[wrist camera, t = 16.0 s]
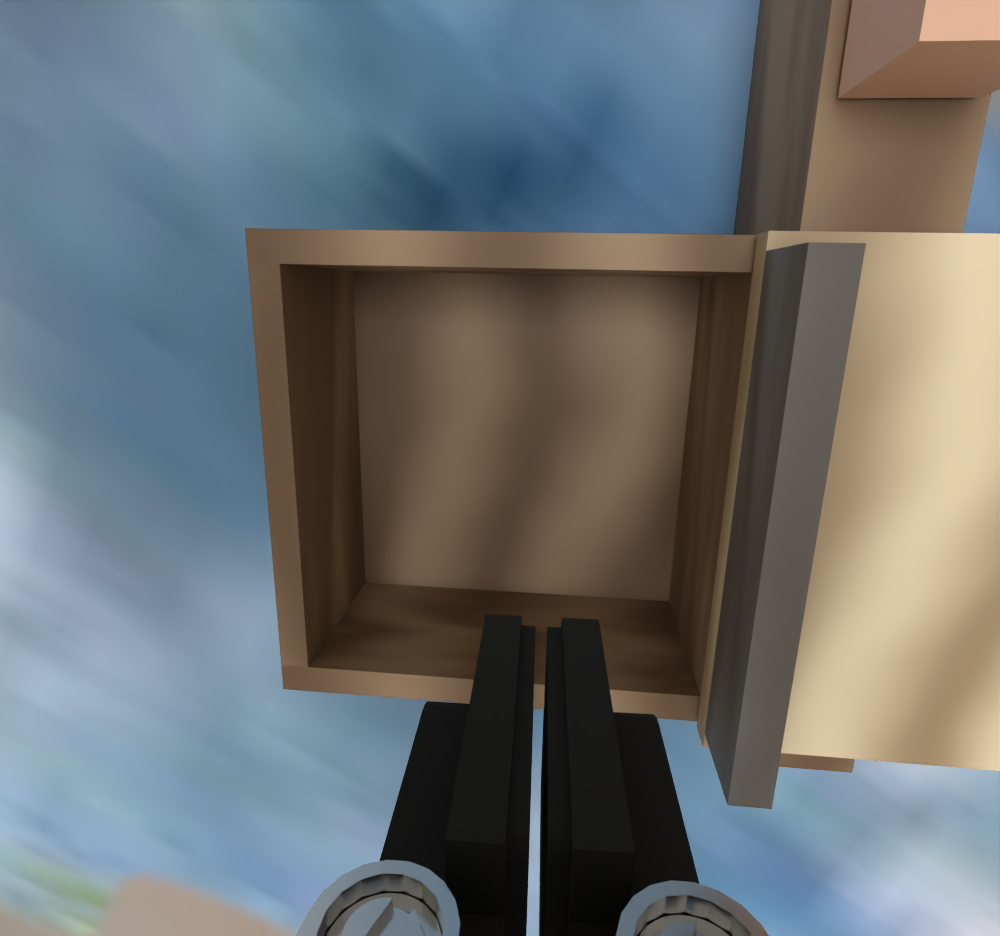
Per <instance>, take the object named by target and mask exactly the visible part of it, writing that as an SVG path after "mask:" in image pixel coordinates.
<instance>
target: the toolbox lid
mask: <svg viewBox="0 0 1000 936" xmlns="http://www.w3.org/2000/svg"><path fill="white" fill-rule="evenodd" d="M697 729H698V732H699V735H700V738H701V742H702V745H703V747H709V749H710V752H711V755H712V758H713V761H714V764H715V767H716V770H717V773H718V777H719V780H720V783H721V786H722V789H723V792H724V795H725V798H726V801H727V805H732V806H744V807H755V808H766V809H772V803H773V797H774V791H775V785H776V779H777V773H778V767H779V761H780V755H781V753H787V754H799V755H812V756H824V757H836V758H849V759H861V760H873V761H886V762H898V763H910V764H923V765H935V766H947V767H959V768H972V769H984V770H996V771H1000V234H988V233H908V232H829V231H766V232H763V233H759V234H757V241H756V249H755V258H754V266H753V274H752V282H751V290H750V298H749V306H748V315H747V323H746V331H745V339H744V347H743V355H742V363H741V372H740V380H739V388H738V396H737V404H736V412H735V420H734V429H733V437H732V445H731V453H730V461H729V469H728V477H727V486H726V494H725V502H724V510H723V518H722V526H721V534H720V543H719V551H718V559H717V567H716V575H715V583H714V591H713V600H712V608H711V616H710V624H709V632H708V640H707V648H706V657H705V665H704V673H703V681H702V689H701V697H700V705H699V714H698V722H697Z"/></svg>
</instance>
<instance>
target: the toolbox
mask: <svg viewBox="0 0 1000 936" xmlns="http://www.w3.org/2000/svg"><path fill="white" fill-rule="evenodd" d="M851 6H852V0H760V9H759V18H758V27H757V35H756V44H755V53H754V62H753V71H752V80H751V88H750V97H749V106H748V115H747V124H746V132H745V141H744V150H743V159H742V168H741V177H740V185H739V194H738V203H737V212H736V221H735V229H734V235H711V234H635V233H559V232H483V231H407V230H331V229H255V228H245V232H246V244H247V256H248V268H249V280H250V292H251V304H252V316H253V328H254V340H255V352H256V364H257V377H258V389H259V401H260V413H261V425H262V437H263V449H264V461H265V473H266V485H267V497H268V509H269V521H270V533H271V545H272V557H273V569H274V581H275V593H276V605H277V617H278V629H279V641H280V653H281V665H282V677H283V689H291V690H304V691H317V692H329V693H342V694H355V695H368V696H381V697H394V698H406V699H419V700H432V701H445V702H458V703H470V698H471V693H472V687H473V681H474V676H475V670H476V665H477V659H478V654H479V648H480V642H481V637H482V631H483V626H484V620H485V615H486V614H498V615H519V616H522V625H523V626H536V631H535V665H534V699H533V708H535V709H544V694H545V668H546V643H547V627H561V620H562V618H582V619H598V620H599V624H600V630H601V637H602V643H603V650H604V656H605V662H606V669H607V675H608V682H609V688H610V695H611V701H612V707H613V712H622V713H640V714H654V715H655V716H656V718H663V719H676V720H689V721H698V714H699V705H700V697H701V689H702V681H703V673H704V665H705V657H706V648H707V640H708V632H709V624H710V616H711V608H712V600H713V591H714V583H715V575H716V567H717V559H718V551H719V543H720V534H721V526H722V518H723V510H724V502H725V494H726V486H727V477H728V469H729V461H730V453H731V445H732V437H733V429H734V420H735V412H736V404H737V396H738V388H739V380H740V372H741V363H742V355H743V347H744V339H745V331H746V323H747V315H748V306H749V298H750V290H751V282H752V274H753V266H754V258H755V249H756V241H757V234H759V233H763V232H766V231H829V232H908V233H963V229H964V224H965V219H966V214H967V209H968V204H969V199H970V194H971V190H972V185H973V180H974V175H975V170H976V165H977V160H978V155H979V151H980V146H981V141H982V136H983V131H984V126H985V121H986V117H987V112H988V107H989V102H990V97H991V93H990V94H988V95H985V96H983V97H981V98H838V95H839V88H840V81H841V74H842V67H843V61H844V54H845V47H846V40H847V33H848V27H849V20H850V13H851ZM853 764H854V759H849V758H836V757H824V756H812V755H799V754H787V753H781V755H780V761H779V767H791V768H803V769H815V770H827V771H839V772H851V773H852V769H853Z"/></svg>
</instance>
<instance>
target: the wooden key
mask: <svg viewBox="0 0 1000 936" xmlns="http://www.w3.org/2000/svg"><path fill="white" fill-rule="evenodd" d="M998 89H1000V0H852V6H851V13H850V20H849V27H848V33H847V40H846V47H845V54H844V61H843V67H842V74H841V81H840V88H839V95H838V98H981V97H983V96H985V95H988V94H990V93H992V92H994V91H996V90H998Z"/></svg>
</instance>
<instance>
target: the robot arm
mask: <svg viewBox="0 0 1000 936" xmlns="http://www.w3.org/2000/svg"><path fill="white" fill-rule="evenodd" d="M535 631H536V626H523V625H522V616H519V615H498V614H486V615H485V620H484V626H483V631H482V637H481V642H480V648H479V654H478V659H477V665H476V670H475V676H474V681H473V687H472V693H471V698H470V704H464V703H446V702H428V701H427V702H426V704H425V706H424V708H423V711H422V714H421V718H420V721H419V725H418V728H417V732H416V735H415V739H414V742H413V746H412V749H411V753H410V756H409V760H408V763H407V767H406V770H405V774H404V777H403V781H402V784H401V788H400V791H399V795H398V798H397V802H396V805H395V809H394V812H393V816H392V819H391V823H390V826H389V830H388V833H387V837H386V840H385V844H384V847H383V851H382V854H381V858H380V861H379V862H374V863H369V864H364V865H362V866H360V867H358V868H356V869H354V870H352V871H350V872H348V873H346V874H344V875H342V876H341V877H340V878H338V879H337V880H336V881H335V882H334V883H333V884H331V885H330V886H329V887H328V888H327V889H325V890H324V891H323V892H322V894H321V895H320V896H319V898H318V899H317V901H316V902H315V903H314V905H313V906H312V908H311V909H310V910H309V912H308V914H307V915H306V917H305V919H304V921H303V923H302V925H301V927H300V929H299V930H298V932H297V934H296V936H526V924H527V895H528V865H529V834H530V801H531V767H532V733H533V699H534V665H535ZM539 936H769V935H768V934H767V932H766V931H765V929H764V927H763V926H762V925H761V924H760V923H759V922H758V921H757V920H756V919H755V918H754V917H753V916H752V915H751V914H750V913H749V912H748V911H747V910H746V909H745V908H744V907H743V906H742V905H741V904H739V903H737V902H736V901H734V900H733V899H731V898H729V897H728V896H726V895H725V894H723V893H721V892H720V891H718V890H715V889H712V888H710V887H707V886H704V885H701V884H699V881H698V877H697V873H696V869H695V865H694V861H693V857H692V853H691V849H690V846H689V842H688V838H687V834H686V830H685V826H684V822H683V818H682V814H681V810H680V806H679V802H678V798H677V794H676V790H675V786H674V782H673V778H672V774H671V771H670V767H669V763H668V759H667V755H666V751H665V747H664V743H663V739H662V735H661V731H660V727H659V724H658V721H657V718H656V716H655V715H654V714H640V713H622V712H613V707H612V701H611V695H610V688H609V682H608V675H607V669H606V662H605V656H604V650H603V643H602V637H601V630H600V624H599V620H598V619H582V618H562V620H561V627H547V643H546V668H545V694H544V719H543V744H542V769H541V813H540V912H539Z"/></svg>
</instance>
